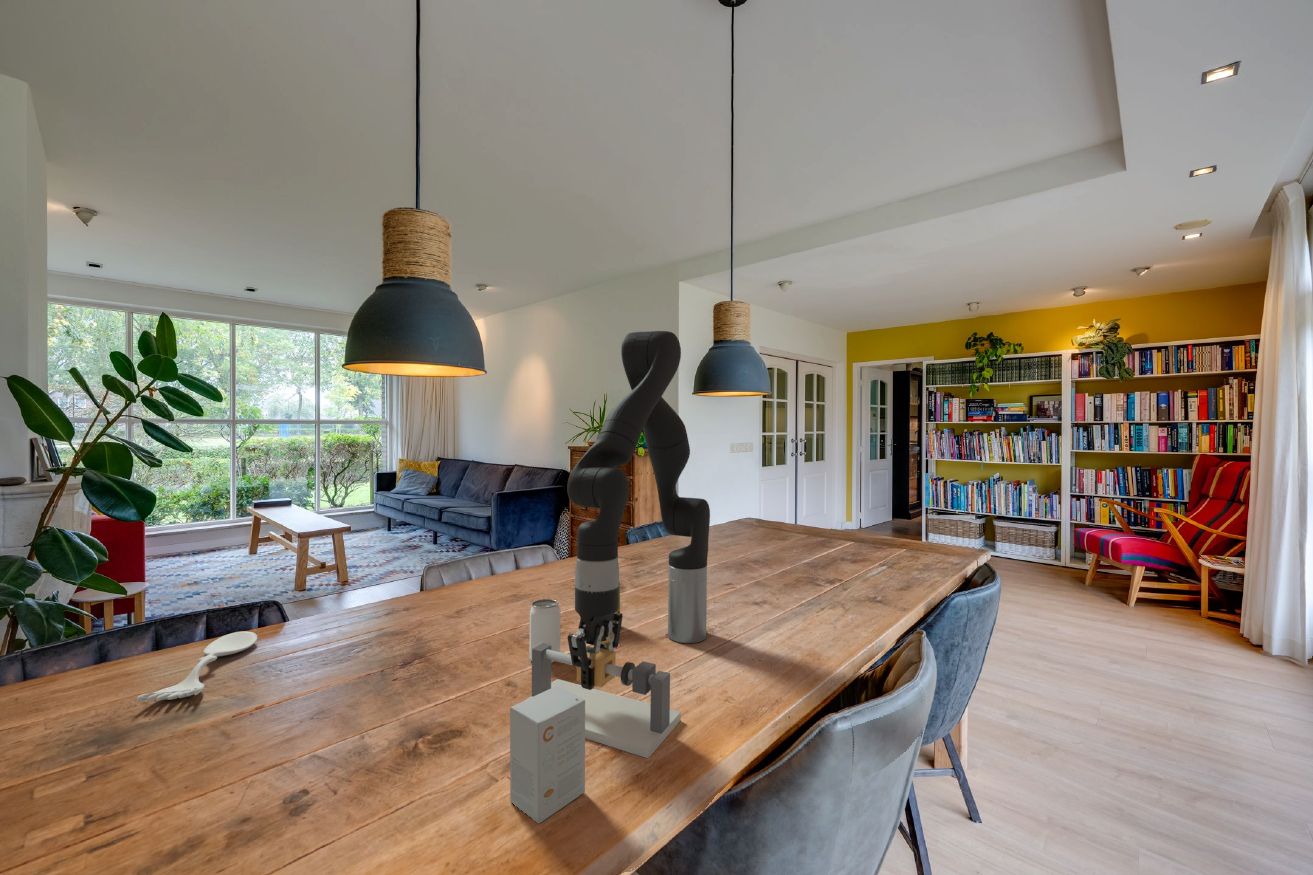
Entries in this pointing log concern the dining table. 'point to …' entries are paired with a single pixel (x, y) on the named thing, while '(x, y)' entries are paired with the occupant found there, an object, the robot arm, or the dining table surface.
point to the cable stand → (616, 703)
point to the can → (545, 624)
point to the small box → (547, 752)
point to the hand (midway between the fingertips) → (596, 681)
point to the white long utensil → (216, 648)
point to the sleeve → (600, 667)
